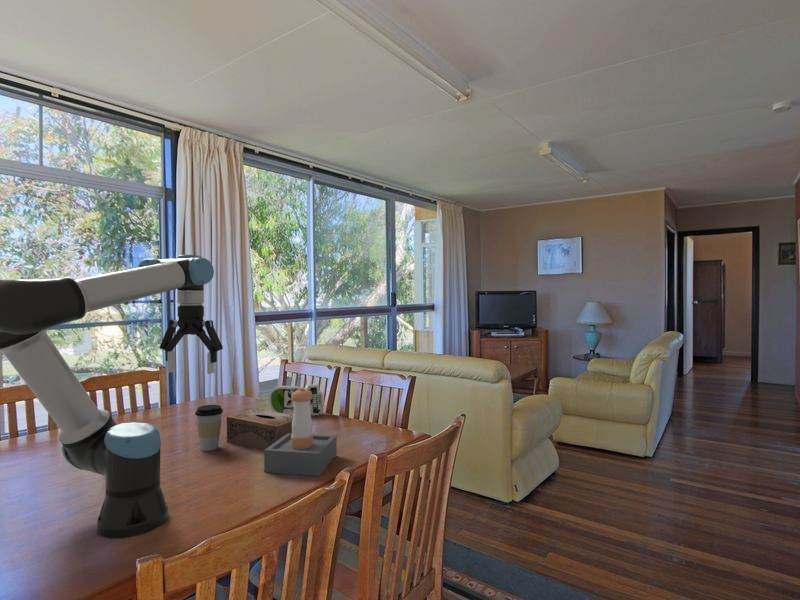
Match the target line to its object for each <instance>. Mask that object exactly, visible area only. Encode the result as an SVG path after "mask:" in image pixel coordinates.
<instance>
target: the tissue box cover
mask: <svg viewBox="0 0 800 600" xmlns="http://www.w3.org/2000/svg"><path fill="white" fill-rule="evenodd" d="M292 421H293V414H289V413H286V414H285V413H279V412H274V411H273V410H268V409H261V408H252V409H249V410H246V411H243V412H238V413H236V414H235V413H234V414H232V415H228V416H226V443H229V444H233V445H237V446H240V447H241V446H242V447H245V448H249V447H250V449H253V448H255V449H254V450H257V449H259V450H258V451H262V450H265V449H266V448H268V447H269V446H271V445H272V444H273V443H275V442H276V441H277V440H279V439H280V438H282V437H283V436H284V435H286V434H287V433H292Z"/></svg>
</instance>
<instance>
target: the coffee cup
mask: <svg viewBox="0 0 800 600" xmlns="http://www.w3.org/2000/svg"><path fill="white" fill-rule="evenodd" d="M196 409H197V410H195V414H194V415H195V416H196V419H197V421H196V423H197V432H198V433H197V434H198V438H199V447H200V450H201V451H204V452H209V451H215V450H218V448H219V442H220V435H221V427H222V415H223V414H222V413H224V409H223V408H222V406H221V405H218V404H207V405H201V406H199V407H197V408H196Z"/></svg>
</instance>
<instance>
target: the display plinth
mask: <svg viewBox="0 0 800 600" xmlns="http://www.w3.org/2000/svg"><path fill="white" fill-rule="evenodd" d="M312 434H313V446H312V447H310V448H306V449H294V448H292V447H291V435H292V433H287V434H286V435H284V436H283V437H282V438H280V439H279V440H277V441H276V442H275V443H273V444H272V445H271V446H269V447H268V448H266V449H265V450H264V451H263V452H264V453H263V455H264V457H263V460H264V461H263V462H264V466H263V467H264V468H263V470H264V471H263V472H264V473H270V472H274V473H273V474H284V473H289V474H288V475H297V474H302V475H301V476H311V475H313V476H314V477H319V476H320V475H321V474H322V473H323V472H324V471H323V470H325V469H326V468H327V467H328V466H329V465H330V464H331V463H332V461H333V460H334V459H335V458H336V457H337V456H336V455H337V451H338V450H337V443H338V442H337V435H330V434H328V435H327V434H316V433H315V434H314V433H312ZM335 456H336V457H335ZM334 457H335V458H334ZM333 458H334V459H333ZM332 459H333V460H332ZM330 462H331V463H330ZM329 463H330V464H329ZM328 464H329V465H328ZM327 465H328V466H327ZM322 471H323V472H322ZM313 476H312V477H313Z"/></svg>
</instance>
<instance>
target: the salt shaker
mask: <svg viewBox="0 0 800 600" xmlns="http://www.w3.org/2000/svg"><path fill="white" fill-rule="evenodd" d="M304 388H305V387H300V389H299V390H297V391H295V392H293V393H292V395H291V398H292V400H293V401H294V412H293V414H292V415H293V421H292V435H291V447H292V448H294V449H306V448H310V447H312V446H313V434H314V433H313V421H312V415H311V414H310V400H311V399H312V397H313V395H312V393H311V391H308V390H304Z"/></svg>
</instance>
